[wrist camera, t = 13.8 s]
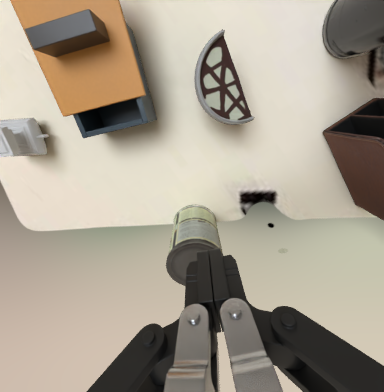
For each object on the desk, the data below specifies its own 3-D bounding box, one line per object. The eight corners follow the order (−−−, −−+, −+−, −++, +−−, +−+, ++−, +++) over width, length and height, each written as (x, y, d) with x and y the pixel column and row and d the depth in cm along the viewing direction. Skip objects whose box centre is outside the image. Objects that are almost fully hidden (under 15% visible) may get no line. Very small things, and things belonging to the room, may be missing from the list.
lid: (4, -22, 24) (-38, -50, 20) (103, -56, 23) (81, -95, 19) (66, 116, 31) (44, 117, 26) (146, 95, 29) (138, 93, 25)
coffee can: (221, 234, 49) (231, 280, 36) (182, 245, 50) (178, 293, 37) (209, 198, 45) (215, 235, 32) (167, 211, 46) (156, 251, 33)
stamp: (49, 116, 38) (12, 118, 30) (61, 151, 41) (30, 161, 33) (3, 119, 38) (-44, 123, 31) (18, 154, 41) (-22, 165, 33)
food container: (182, 66, 35) (178, 51, 25) (214, 47, 33) (222, 24, 24) (211, 132, 39) (216, 140, 30) (240, 117, 38) (255, 121, 29)
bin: (71, 48, 34) (37, 32, 26) (132, 30, 33) (114, 8, 25) (103, 132, 39) (83, 138, 32) (157, 119, 38) (148, 122, 31)
